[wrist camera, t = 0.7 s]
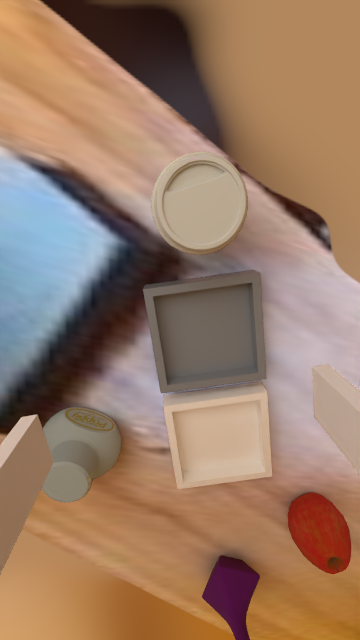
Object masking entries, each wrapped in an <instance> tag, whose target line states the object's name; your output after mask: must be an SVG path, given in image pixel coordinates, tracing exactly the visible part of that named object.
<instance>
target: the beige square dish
mask: <svg viewBox="0 0 360 640" xmlns="http://www.w3.org/2000/svg"><path fill="white" fill-rule="evenodd" d="M163 408H164V414H165V420H166V426H167V431H168V437H169V443H170V449H171V455H172V461H173V466H174V472H175V478H176V484H177V489H184V488H191V487H199V486H206V485H213V484H220V483H228V482H235V481H242V480H250V479H257V478H264V477H272V465H271V448H270V431H269V414H268V397H267V391H266V389H265V388H264V386H263V384H262V383H261V382H256V383H248V384H241V385H234V386H227V387H219V388H212V389H205V390H198V391H190V392H183V393H176V394H169V395H164V397H163Z"/></svg>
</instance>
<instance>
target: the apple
mask: <svg viewBox="0 0 360 640" xmlns="http://www.w3.org/2000/svg"><path fill="white" fill-rule="evenodd" d="M288 527H289V530H290V533H291V536H292V539H293V540H294V542H295V544H296V545H297V547H298V548H299V549H300V551H301V552H302V554H303V555H304V556H305V557H306V558H307V559H308V560H309V561H310V562H311V563H312V564H313V565H315V566H316V567H318V568H319V569H321V570H323V571H324V572H327V573H330V574H335V573H339V572H342V571H344V570H345V569H346V568H347V567H348V565H349V562H350V557H351V540H350V533H349V528H348V525H347V523H346V521H345V519H344V517H343V515H342V514H341V513H340V512H339V510H338V509H337V508H336V507H335V506H334V505H333V504H332V503H331V502H330V501H329V500H328V499H326V498H325V497H324V496H322V495H320V494H317V493H307V494H304V495H302V496H300V497H298V498H296V499H295V500H294V501H293V502H292V504H291V506H290V507H289V512H288Z"/></svg>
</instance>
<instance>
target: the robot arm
mask: <svg viewBox="0 0 360 640" xmlns="http://www.w3.org/2000/svg"><path fill="white" fill-rule="evenodd" d="M312 376H313V399H314V417H315V418H316V420H317V421H318V422H319V423H320V425H321V426H322V427H323V429H324V430H325V431H326V432H327V434H328V435H329V436H330V437H331V439H332V440H333V441H334V442H335V444H336V445H337V446H338V448H339V449H340V450H341V451H342V453H343V454H344V455H345V456H346V458H347V459H348V460H349V461H350V463H351V464H352V465H353V467H354V468H355V469H356V470H357V472H358V473H359V474H360V390H358V389H357V388H356V387H355V386H354V385H352V384H351V383H350V382H349V381H348V380H346V379H345V378H344V377H343V376H342V375H340V374H339V373H338V372H337V371H336V370H334V369H333V368H332V367H331V366H330V365H329V364H326V365H321V366H315V367H312ZM53 463H54V460H53V458H52V455H51V452H50V449H49V446H48V443H47V440H46V438H45V435H44V432H43V429H42V426H41V423H40V420H39V417H38V415H31V416H25V417H21V418H20V420H19V421H18V422H17V424H16V425H15V426H14V428H13V429H12V430H11V432H10V433H9V434H8V436H7V437H6V438H5V439H4V441H3V442H2V443H1V445H0V574H1V572H2V570H3V568H4V566H5V564H6V561H7V559H8V557H9V555H10V553H11V551H12V549H13V547H14V545H15V542H16V540H17V538H18V536H19V534H20V532H21V530H22V528H23V526H24V524H25V522H26V519H27V517H28V515H29V513H30V511H31V509H32V507H33V505H34V503H35V501H36V498H37V496H38V494H39V492H40V490H41V488H42V486H43V484H44V482H45V480H46V477H47V475H48V473H49V471H50V469H51V467H52V465H53Z"/></svg>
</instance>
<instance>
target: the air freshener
mask: <svg viewBox="0 0 360 640" xmlns="http://www.w3.org/2000/svg"><path fill="white" fill-rule="evenodd" d="M43 432H44V435H45V438H46V440H47V443H48V446H49V449H50V452H51V455H52V458H53V460H54V463H53V465H52V467H51V469H50V471H49V473H48V475H47V477H46V480H45V482H44V484H43V486H42V490H43V491H44V492H45V494H46V495H47V496H49V497H50V498H51V499H53V500H56V501H59V502H73V501H77V500H79V499H81V498H82V497H84V496H85V495H86V494H87V492H88V491H89V490H90V487H91V484H92V481H93V479H96V478H98V477H100V476H102V475H103V474H105V473H106V472H108V471H109V470H110V469H111V468H112V467H113V465H114V464H115V463H116V461H117V459H118V457H119V454H120V450H121V436H120V432H119V430H118V427H117V426H116V424H115V423H114V421H113V420H112V419H110V418H109V417H108V416H106V415H104V414H102V413H100V412H98V411H95V410H92V409H88V408H82V407H71V408H67V409H64V410H62V411H60V412H58V413H56V414H55V415H54V416H53V417H51V418H50V419H49V421H48V422H47V423H46V424H45V426H44V428H43Z"/></svg>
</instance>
